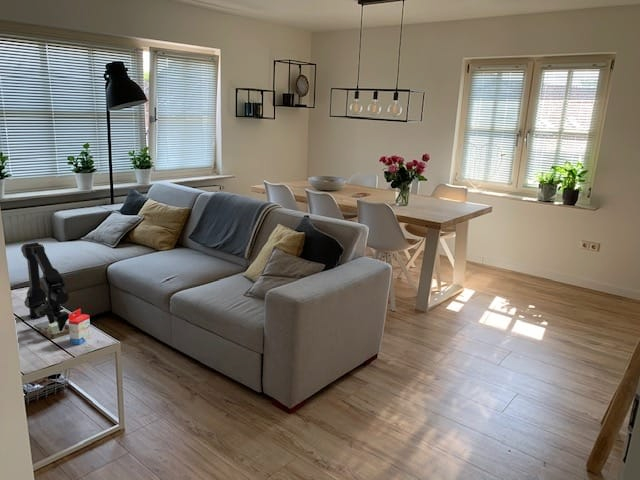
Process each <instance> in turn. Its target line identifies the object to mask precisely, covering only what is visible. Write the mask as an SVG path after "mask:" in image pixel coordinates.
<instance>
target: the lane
mask: <svg viewBox="0 0 640 480" xmlns="http://www.w3.org/2000/svg"><path fill="white" fill-rule="evenodd" d="M64 326H65V331H62V332H59V333H55V334H52V333H50V332H49V331H48V329H44V328H43V327H39V328H40V329H39V328H38V329H39V332H40V333H41V334H43V335H45V336H46V337H47V338H49V339H50V340H55V339H58V338H62V337H65V336H68V335H70V331H69V323H67V322H66V323H65V325H64Z"/></svg>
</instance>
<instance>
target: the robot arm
mask: <svg viewBox="0 0 640 480" xmlns="http://www.w3.org/2000/svg"><path fill="white" fill-rule="evenodd" d="M45 249H46V248H45V247H44V244H39V242H31V243H24V244H23V245H22V246H21V248H20V251H21V253H22V255H23V257H24V259H26V261H27V271H28V280H29V281H28V282H29V288H28V290H27V291H26V297H25V299H24V302H23V303H24V306H25V307H26V308H27V309H29V314H27V317H28V318H30V319H31V320H36V319H39V318H40V319H41V318H43V317H46V318H47V319H48V320H47V321H49V322H50V324H52V323H54V321H56V322H57V324H58V328H59V331H62V330H63V328H64V325H65V323H67V321H69V314H70V313H69V312H67V311H66V310H64V308H63V307H62V305H64V304H66V303H67V302H68V301H69V294H68V293H67V292H65V290H64V289H63V288H66V285H65V284H66V282H65V280H64V277H63V276H62V274H61V273H60V272H59V270H58V269H57V268H54V266H53V265H52V263H51V261H50V259H49V257H48V255H47V253H46V250H45ZM39 267H40V269H41V272H42V277H41V276H40V269H39ZM40 277H41V278H40ZM40 279H41V280H42V283H43V285H44V288H45V290H46V292H45V291H44V289H43V288H42V287H41V280H40Z"/></svg>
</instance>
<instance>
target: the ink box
mask: <svg viewBox="0 0 640 480" xmlns="http://www.w3.org/2000/svg"><path fill="white" fill-rule="evenodd" d="M90 323H91V322H90V315H89V314H83V313H82V309H81V308H78V309H76V310H75V311H72V312H71V313H69V319H68V325H69V331H70V334H69V341H70V344H71V345H78V346H80V345H82V344H83V343H85V342H86V341H88V340H89V339H91V324H90Z"/></svg>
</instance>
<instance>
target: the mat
mask: <svg viewBox="0 0 640 480" xmlns="http://www.w3.org/2000/svg"><path fill="white" fill-rule="evenodd" d="M55 322H56V321H54V323H55ZM48 324H50V322H49V320H46V321H42V322H39V323H35V324H34V326H35V327H36V328H37V329H39V330H40V328H39V327H43V328H44V329H46V330H48Z"/></svg>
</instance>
